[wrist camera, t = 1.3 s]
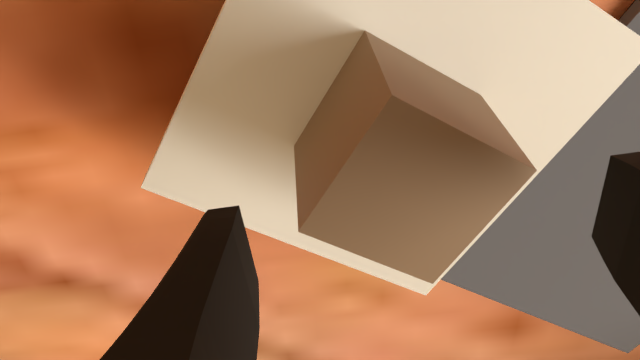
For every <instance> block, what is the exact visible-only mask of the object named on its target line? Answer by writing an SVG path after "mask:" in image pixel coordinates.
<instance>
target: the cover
mask: <svg viewBox="0 0 640 360" xmlns="http://www.w3.org/2000/svg"><path fill="white" fill-rule="evenodd" d="M639 64H640V36H639V35H638V34H636V33H635V32H634V31H632V30H631V29H629V28H628V27H626V26H625V25H623V24H622V23H621V22H619V21H618V20H616V19H615V18H613V17H612V16H611V15H609V14H608V13H606V12H605V11H603V10H602V9H600V8H599V7H598V6H596V5H595V4H593V3H592V2H590V1H589V0H225V2H224V4H223V6H222V8H221V11H220V13H219V15H218V17H217V19H216V22H215V24H214V26H213V28H212V30H211V33H210V35H209V37H208V39H207V41H206V44H205V46H204V48H203V50H202V52H201V54H200V57H199V59H198V61H197V63H196V65H195V68H194V70H193V72H192V74H191V76H190V79H189V81H188V83H187V85H186V87H185V90H184V92H183V94H182V96H181V98H180V101H179V103H178V105H177V107H176V109H175V111H174V114H173V116H172V118H171V120H170V122H169V125H168V127H167V129H166V131H165V133H164V136H163V138H162V140H161V142H160V144H159V147H158V149H157V151H156V153H155V155H154V158H153V160H152V162H151V164H150V166H149V169H148V171H147V173H146V175H145V178H144V181H143V183H142V186H141V188H142V189H145V190H148V191H150V192H153V193H156V194H158V195H161V196H164V197H166V198H169V199H172V200H174V201H177V202H179V203H182V204H185V205H187V206H190V207H193V208H195V209H198V210H201V211H203V212H206V211H207V210H208V209H216V208H223V207H231V206H238V205H239V207H240V211H241V215H242V219H243V223H244V227H246V228H248V229H251V230H254V231H256V232H259V233H262V234H264V235H267V236H270V237H272V238H275V239H278V240H280V241H283V242H286V243H288V244H291V245H293V246H296V247H299V248H301V249H304V250H307V251H309V252H312V253H315V254H317V255H320V256H323V257H325V258H328V259H331V260H333V261H336V262H339V263H341V264H344V265H346V266H349V267H352V268H354V269H357V270H360V271H362V272H365V273H368V274H370V275H373V276H376V277H378V278H381V279H384V280H386V281H389V282H392V283H394V284H397V285H400V286H402V287H405V288H407V289H410V290H413V291H415V292H418V293H421V294H423V295H427V294H428V293H429V291H430V290H431V289H432V288H433V287H434V286H435V285H436V284H437V283H438V282H439V281H440V280H441V278H442V277H443V276H444V275H445V274H446V273H447V272H448V271H449V270H450V269H451V268H452V267H453V265H454V264H455V263H456V262H457V261H458V260H459V259H460V258H461V257H462V256H463V255H464V254H465V252H466V251H467V250H468V249H469V248H470V247H471V246H472V245H473V244H474V243H475V242H476V241H477V240H478V238H479V237H480V236H481V235H482V234H483V233H484V232H485V231H486V230H487V229H488V228H489V227H490V225H491V224H492V223H493V222H494V221H495V220H496V219H497V218H498V217H499V216H500V215H501V214H502V212H503V211H504V210H505V209H506V208H507V207H508V206H509V205H510V204H511V203H512V202H513V201H514V199H515V198H516V197H517V196H518V195H519V194H520V193H521V192H522V191H523V190H524V189H525V188H526V187H527V185H528V184H529V183H530V182H531V181H532V180H533V179H534V178H535V177H536V176H537V175H538V174H539V172H540V171H541V170H542V169H543V168H544V167H545V166H546V165H547V164H548V163H549V162H550V161H551V159H552V158H553V157H554V156H555V155H556V154H557V153H558V152H559V151H560V150H561V149H562V148H563V146H564V145H565V144H566V143H567V142H568V141H569V140H570V139H571V138H572V137H573V136H574V135H575V133H576V132H577V131H578V130H579V129H580V128H581V127H582V126H583V125H584V124H585V123H586V122H587V121H588V119H589V118H590V117H591V116H592V115H593V114H594V113H595V112H596V111H597V110H598V109H599V108H600V106H601V105H602V104H603V103H604V102H605V101H606V100H607V99H608V98H609V97H610V96H611V95H612V93H613V92H614V91H615V90H616V89H617V88H618V87H619V86H620V85H621V84H622V83H623V82H624V80H625V79H626V78H627V77H628V76H629V75H630V74H631V73H632V72H633V71H634V70H635V69H636V68H637V66H638V65H639Z"/></svg>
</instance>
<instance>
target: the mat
mask: <svg viewBox="0 0 640 360" xmlns="http://www.w3.org/2000/svg"><path fill="white" fill-rule="evenodd" d="M618 21H619V22H621V23H622V24H623V25H625V26H626V27H628V28H629V29H631V30H632V31H634V32H635V33H636V34H638V35H639V36H640V0H635V2H634V3H633V4H632V5H631V6H630V7H629V9H628V10H627V11H626V12H625V13H624V14H623V16H622V17H621V18H620V19H619V20H618ZM633 152H640V64H639V65H638V66H637V68H636V69H635V70H634V71H633V72H632V73H631V74H630V75H629V76H628V77H627V78H626V79H625V80H624V82H623V83H622V84H621V85H620V86H619V87H618V88H617V89H616V90H615V91H614V92H613V93H612V95H611V96H610V97H609V98H608V99H607V100H606V101H605V102H604V103H603V104H602V105H601V106H600V108H599V109H598V110H597V111H596V112H595V113H594V114H593V115H592V116H591V117H590V118H589V119H588V121H587V122H586V123H585V124H584V125H583V126H582V127H581V128H580V129H579V130H578V131H577V132H576V133H575V135H574V136H573V137H572V138H571V139H570V140H569V141H568V142H567V143H566V144H565V145H564V146H563V148H562V149H561V150H560V151H559V152H558V153H557V154H556V155H555V156H554V157H553V158H552V159H551V161H550V162H549V163H548V164H547V165H546V166H545V167H544V168H543V169H542V170H541V171H540V172H539V174H538V175H537V176H536V177H535V178H534V179H533V180H532V181H531V182H530V183H529V184H528V185H527V187H526V188H525V189H524V190H523V191H522V192H521V193H520V194H519V195H518V196H517V197H516V198H515V199H514V201H513V202H512V203H511V204H510V205H509V206H508V207H507V208H506V209H505V210H504V211H503V212H502V214H501V215H500V216H499V217H498V218H497V219H496V220H495V221H494V222H493V223H492V224H491V225H490V227H489V228H488V229H487V230H486V231H485V232H484V233H483V234H482V235H481V236H480V237H479V238H478V240H477V241H476V242H475V243H474V244H473V245H472V246H471V247H470V248H469V249H468V250H467V251H466V252H465V254H464V255H463V256H462V257H461V258H460V259H459V260H458V261H457V262H456V263H455V264H454V265H453V267H452V268H451V269H450V270H449V271H448V272H447V273H446V274H445V275H444V276H443V277H442V278H441V280H444V281H446V282H449V283H451V284H454V285H456V286H459V287H461V288H464V289H466V290H469V291H471V292H474V293H477V294H479V295H482V296H484V297H487V298H489V299H492V300H494V301H497V302H499V303H502V304H504V305H507V306H509V307H512V308H515V309H517V310H520V311H522V312H525V313H527V314H530V315H532V316H535V317H537V318H540V319H542V320H545V321H548V322H550V323H553V324H555V325H558V326H560V327H563V328H565V329H568V330H570V331H573V332H575V333H578V334H580V335H583V336H586V337H588V338H591V339H593V340H596V341H598V342H601V343H603V344H606V345H608V346H611V347H613V348H616V349H619V350H621V351H624V352H626V353H629V352H630V351H631V350H633V349H634V348H635V347H637V346H638V345H639V344H640V316H639V315H638V313H637V312H636V310H635V309H634V308H633V306H632V305H631V303H630V302H629V301H628V299H627V298H626V296H625V295H624V294H623V292H622V291H621V289H620V288H619V286H618V285H617V284H616V282H615V281H614V279H613V277H612V275H611V273H610V272H609V270H608V268H607V266H606V264H605V263H604V261H603V259H602V257H601V255H600V253H599V251H598V249H597V247H596V245H595V243H594V241H593V239H592V237H591V236H592V232H593V227H594V223H595V219H596V215H597V211H598V206H599V202H600V198H601V194H602V189H603V185H604V181H605V177H606V173H607V168H608V164H609V160H610V156H611V155H618V154H625V153H633Z"/></svg>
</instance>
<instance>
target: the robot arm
mask: <svg viewBox="0 0 640 360" xmlns="http://www.w3.org/2000/svg"><path fill="white" fill-rule="evenodd" d="M591 237H592V239H593V241H594V243H595V245H596V247H597V249H598V251H599V253H600V255H601V257H602V259H603V261H604V263H605V264H606V266H607V268H608V270H609V272H610V273H611V275H612V277H613V279H614V281H615V282H616V284H617V285H618V286H619V288H620V289H621V291H622V292H623V294H624V295H625V296H626V298H627V299H628V301H629V302H630V303H631V305H632V306H633V308H634V309H635V310H636V312H637V313H638V315H639V316H640V152H633V153H625V154H618V155H611V156H610V160H609V164H608V168H607V173H606V177H605V181H604V185H603V189H602V194H601V198H600V202H599V206H598V211H597V215H596V219H595V223H594V227H593V232H592V236H591ZM258 338H259V284H258V277H257V273H256V269H255V266H254V262H253V258H252V254H251V250H250V246H249V242H248V238H247V234H246V231H245V227H244V223H243V219H242V215H241V211H240V207H239V205H238V206H231V207H223V208H216V209H208V210H207V211H206V213H205V214H204V215H203V217H202V218H201V220H200V222H199V223H198V225H197V226H196V228H195V230H194V231H193V233H192V235H191V236H190V238H189V239H188V241H187V242H186V244H185V246H184V247H183V249H182V250H181V252H180V253H179V255H178V257H177V258H176V260H175V261H174V263H173V264H172V266H171V267H170V268H169V270H168V271H167V273H166V274H165V276H164V277H163V279H162V280H161V282H160V283H159V285H158V286H157V287H156V289H155V290H154V292H153V293H152V294H151V296H150V297H149V299H148V300H147V301H146V303H145V304H144V305H143V306H142V308H141V309H140V310H139V312H138V313H137V314H136V316H135V317H134V318H133V320H132V321H131V322H130V323H129V325H128V326H127V327H126V329H125V330H124V331H123V332H122V334H121V335H120V336H119V337H118V339H117V340H116V341H115V342H114V343H113V345H112V346H111V347H110V348H109V349H108V351H107V352H106V353H105V354H104V355H103V356H102V358H101V359H100V360H256V359H257V349H258Z"/></svg>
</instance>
